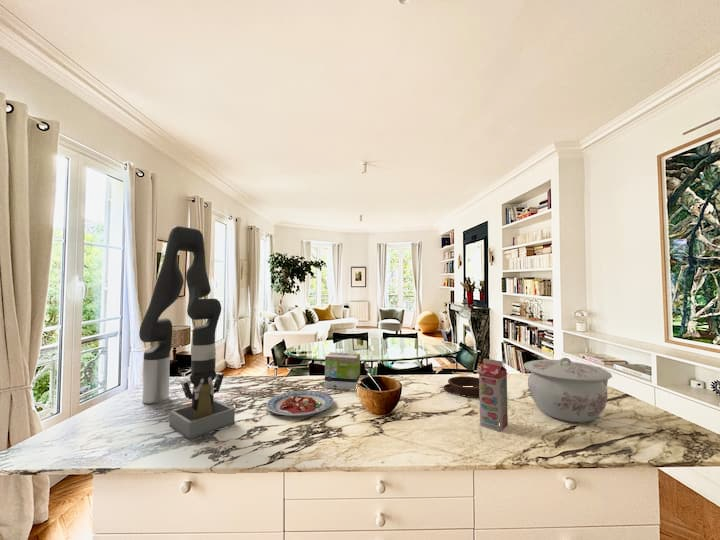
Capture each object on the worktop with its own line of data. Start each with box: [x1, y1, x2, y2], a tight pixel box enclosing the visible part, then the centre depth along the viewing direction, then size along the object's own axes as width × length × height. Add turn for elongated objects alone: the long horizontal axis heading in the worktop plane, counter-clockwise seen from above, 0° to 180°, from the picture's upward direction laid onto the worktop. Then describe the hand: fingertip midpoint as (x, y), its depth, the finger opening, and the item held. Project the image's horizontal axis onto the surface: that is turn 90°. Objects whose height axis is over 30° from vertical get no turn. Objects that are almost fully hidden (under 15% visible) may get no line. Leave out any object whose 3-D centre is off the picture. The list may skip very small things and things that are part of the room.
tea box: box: [324, 352, 361, 391], centre depth 152 cm, size 15×10×15 cm, turn 80°
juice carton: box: [478, 357, 509, 433], centre depth 110 cm, size 7×7×22 cm
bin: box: [168, 398, 236, 440], centre depth 110 cm, size 15×15×5 cm
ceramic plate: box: [265, 390, 334, 417], centre depth 127 cm, size 26×26×3 cm
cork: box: [193, 384, 212, 420], centre depth 111 cm, size 6×6×11 cm
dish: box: [443, 375, 479, 397], centre depth 143 cm, size 18×22×5 cm
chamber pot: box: [523, 357, 613, 423], centre depth 119 cm, size 28×28×21 cm
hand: (202, 407), depth 110 cm, fingers closed on cork, 4 cm apart
